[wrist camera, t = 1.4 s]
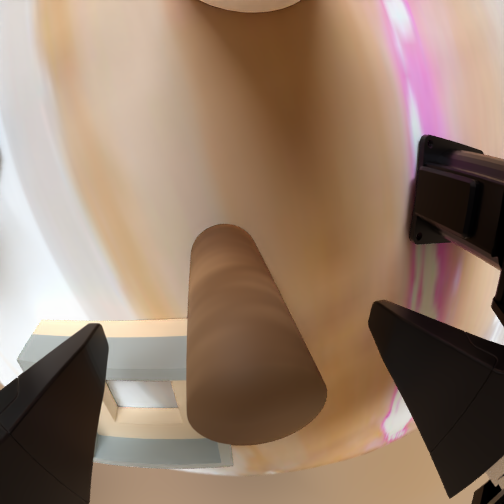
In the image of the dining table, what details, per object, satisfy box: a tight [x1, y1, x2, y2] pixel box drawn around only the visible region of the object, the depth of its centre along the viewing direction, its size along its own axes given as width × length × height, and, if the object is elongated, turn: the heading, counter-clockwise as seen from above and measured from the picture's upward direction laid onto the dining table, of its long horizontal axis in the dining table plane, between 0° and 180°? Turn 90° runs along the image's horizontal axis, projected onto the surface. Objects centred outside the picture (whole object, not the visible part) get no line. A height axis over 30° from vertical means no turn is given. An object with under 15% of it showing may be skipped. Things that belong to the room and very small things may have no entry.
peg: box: [186, 224, 327, 445], centre depth 10 cm, size 3×3×9 cm
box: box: [17, 318, 233, 469], centre depth 15 cm, size 11×11×4 cm
